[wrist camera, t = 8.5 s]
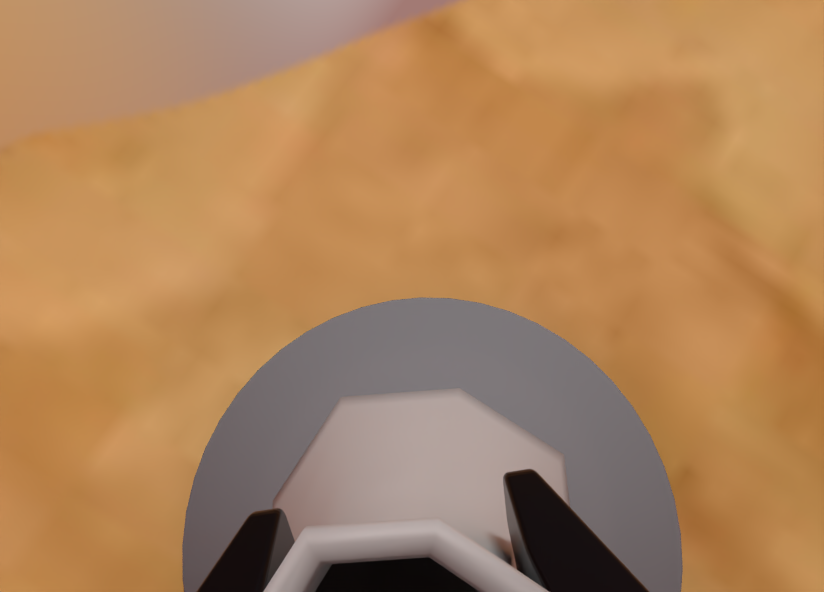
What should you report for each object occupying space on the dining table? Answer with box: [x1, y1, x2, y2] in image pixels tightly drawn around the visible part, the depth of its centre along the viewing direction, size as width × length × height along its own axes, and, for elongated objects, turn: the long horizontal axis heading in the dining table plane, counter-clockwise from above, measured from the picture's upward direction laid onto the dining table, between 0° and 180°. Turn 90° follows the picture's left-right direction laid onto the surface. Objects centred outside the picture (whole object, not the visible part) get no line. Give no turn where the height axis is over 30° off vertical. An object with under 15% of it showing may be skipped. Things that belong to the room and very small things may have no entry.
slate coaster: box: [183, 298, 682, 592], centre depth 17 cm, size 12×12×1 cm
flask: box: [263, 388, 570, 592], centre depth 11 cm, size 7×7×10 cm
